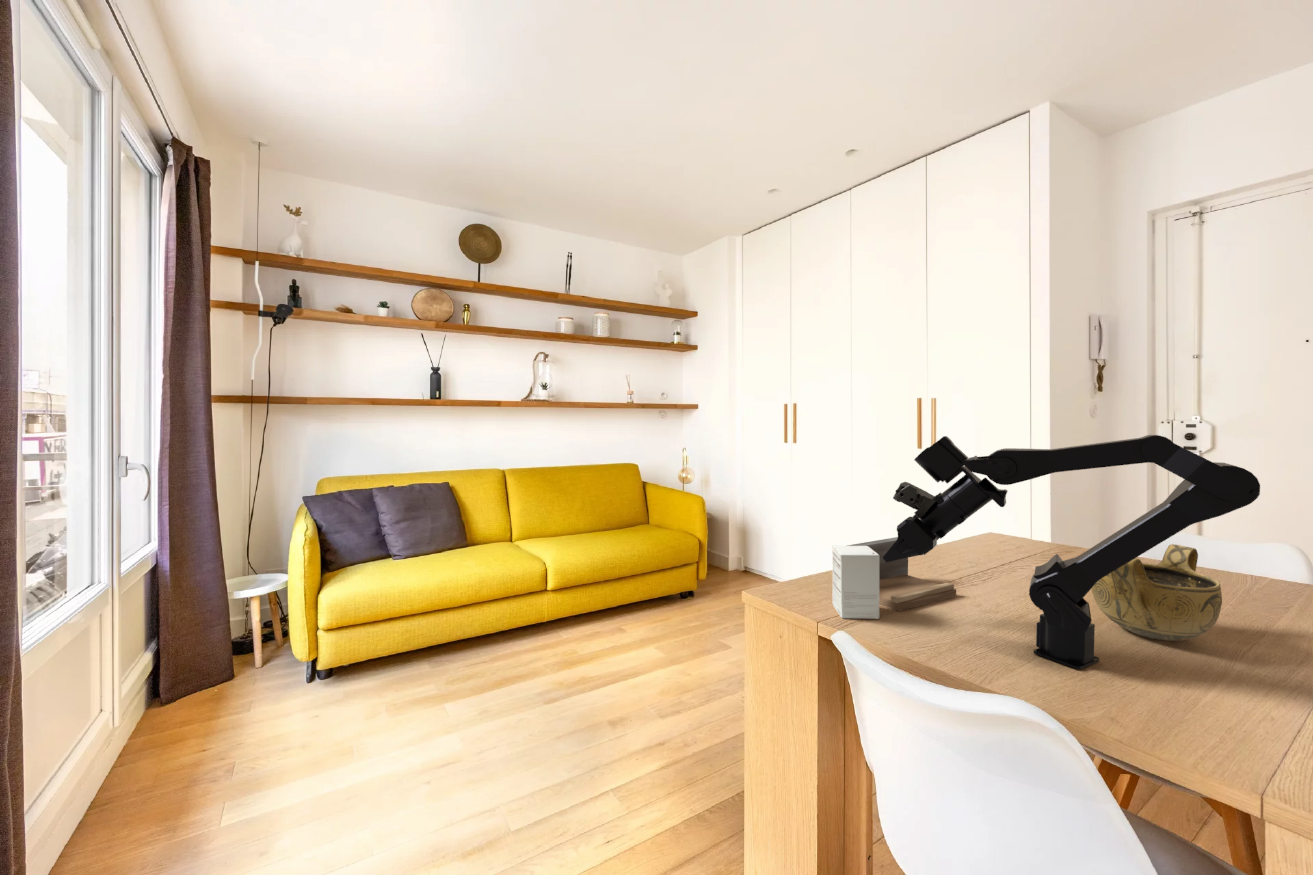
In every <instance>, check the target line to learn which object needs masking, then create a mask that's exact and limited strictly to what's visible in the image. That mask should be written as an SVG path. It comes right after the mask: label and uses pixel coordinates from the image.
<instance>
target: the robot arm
mask: <svg viewBox="0 0 1313 875" xmlns="http://www.w3.org/2000/svg"><path fill="white" fill-rule="evenodd" d="M959 448H960V447H958V446H957V445H955V443H954V442H953V441H952V439H951V438H949V437H948V436H947V435H945V436H942V437H941V438H939V439H938V440H937V441H936V442H934V443H933V444H932V445H930V446H929V447H926V448H925V449H924V450H923V451H921V452H920V453H919V454H918V455H917V456H916V457H915V458H914V461H915V462H916V464H918V465H919V467H921V468H922V470H924V471H925V472H926V473H927V474H928V476H930V477H931V478H932V479H933V480H934V481H935V482H936V483H937V484H938V483H940V482H941V483H944V482H945V483H946V484H949V483H950V482H952V481H953V480H954V479H955V478H957V477H958V476H959V475H960V474H961V473H964V475H963V476H962V477H960V478H959V479H958V480H956V482H954V483H952V485H950V486H949V487H948V488H947V489H946V490H944V491H943V492H939V493H938V494H936V495H933V494H932V493H929V492H928V491H926V490H924V489H922V488H920V487H918V486H916V485H914V484H911V483H910V482H907V481H904V482H901V483H900V484H899V485H898V488H896V490H895V493H894V495H893V497H892V499H893V500H894V501H896V502H898V503H902V504H904V505H906V506H908V507H910V508H911V509H914V510H916V511H914V514H913V516H908V517H907V518H905V519H904V520H903V521H901V522H900V523H899V524H898V525H897V526H896V532H897V537H898V538H897V540H896V541H895V542H894V544H893V545H892V546H891V547H890V549H889V550H888V551H887V552H886V554H885V555H884V556H883V559H884V560H885V561H886V562H891V561H895V560H899V559H904V558H908V559H909V558H913V557H918V556H925V555H927V554H928V553H929V552H931V551H932V550H933V549H934V548H936V546H937V545H938V540H939V539H943V538H945V536H946V535H947V534H948V533H950V532H951V531H952V530H954V529H955V528H956V527H958V526H960V525H961V524H963V523H964V522H966V520H967V519H968V518H969V517H971V516H972V515H973V514H975V513H977V512H978V511H979V510H981V509H982V508H983V507H984V506H985V505H987V504H988V503H990V502H991V501H994V502H995V504H996V505H997V506H999V507H1000V508H1004V507H1005V506H1006V504H1007V498H1006V497H1007V494H1008V489H1005V488H1004V489H1001V488H1000V489H999V488H998V487H997V486H996V485H1001V486H1002V485H1003V486H1009V485H1014V484H1018V483H1022V482H1025V481H1029V480H1033V479H1037V478H1040V477H1045V476H1047V475H1050V474H1054V473H1064V472H1072V471H1080V470H1081V471H1082V470H1089V469H1099V468H1108V467H1111V468H1112V467H1119V466H1128V465H1137V464H1146V463H1151V464H1155V465H1157V466H1159V467H1161V468H1163V469H1165V470H1166V471H1169V472H1170V473H1172V474H1173V475H1176V476H1178V477H1180V478H1182V479H1183V480H1182V481H1181V482H1180V483H1179V484H1178V485H1177V486H1176V487H1175V488H1174V490H1173V491H1172V492H1171V493H1170V494H1169V496H1167V498H1166V499H1164V500H1163V502H1162V503H1160V504H1158V505H1157V506H1155V507H1153V508H1152V509H1150V510H1149V511H1147V512H1145V513H1144V514H1142V515H1140V516H1139V517H1138V518H1136V519H1134V520H1133V521H1131V522H1130V523H1128V524H1127V525H1125V526H1123V527H1122V528H1120V529H1119V530H1116V532H1114V533H1113V534H1111V535H1109V536H1108V537H1106V538H1104V539H1103V540H1102V541H1100V542H1098V543H1097V544H1095V545H1094V546H1092V547H1090V548H1088V549H1087V550H1086V551H1084V552H1083V553H1081V554H1080V555H1078V556H1076V557H1072V558H1068V559H1066V560H1065V559H1064V560H1063V559H1062V558H1061V557H1060V555H1059V554H1057V553H1056V554H1055V555H1053V556H1052V557H1051V558H1050V559H1049V560H1048V561H1046V563H1043V564H1041V565H1037V566H1035V568H1034V573H1033V574H1032V576H1031V579H1030V584H1029V589H1028V592H1029V593H1028V595H1029V598H1030V601H1031V602H1032V604H1033V605H1034V606H1035V607H1037V608H1038V609H1039V610H1041V611H1042V612H1043V613H1042V614H1039V621H1038V622H1036V626H1035V627H1036V628H1035V629H1036V633H1035V639H1036V641H1035V646H1036V647H1037V648H1035V649H1033V654H1034V655H1037V656H1039V657H1041V658H1042V657H1043V658H1045V659H1048V660H1051V661H1053V662H1056V663H1058V664H1062V665H1065V666H1067V667H1070V668H1073V669H1075V670H1082V669H1084V668H1087V667H1089V666H1092V665H1093V664H1096V663H1098V662H1100V657H1099V656H1095V631H1096V630H1095V623H1092V614H1091V613H1092V612H1091V607H1090V603H1089V602H1088V601H1087V600H1086V599H1085V598H1084V597H1086V595H1087V594H1088V593H1089V592H1090V590H1091V588H1092V587H1093V586H1094V585H1095V584H1096V583H1097V582H1098V581H1099V580H1100V579H1101V578H1103V577H1105V576H1106V575H1108V574H1110V573H1111V572H1113V571H1115V570H1116V569H1118V568H1120V567H1121V566H1123V565H1125V564H1126V563H1128V562H1130V561H1131V560H1133V559H1135V558H1138V557H1139V556H1141V555H1143V554H1145V553H1147V552H1148V551H1150V550H1151V549H1153V548H1154V547H1156V546H1158V545H1159V544H1162V543H1163V542H1165V541H1166V540H1168V539H1170V538H1172V537H1173V536H1175V535H1176V534H1178V533H1180V532H1181V531H1183V530H1185V529H1186V528H1188V527H1189V526H1191V525H1192V526H1193V525H1195V524H1197V523H1200V522H1204V521H1207V520H1208V521H1209V520H1211V519H1214V518H1219V517H1221V516H1224V515H1226V514H1229V513H1232V512H1234V511H1236V510H1239V509H1241V508H1245V507H1246V506H1249V505H1250V504H1252V503H1254V502H1255V501H1256V500H1257V499H1259V496H1260V494H1261V484H1260V481H1259V479H1258V477H1257V476H1255V475H1254V473H1253V472H1252V471H1250V470H1247V469H1245V468H1244V467H1240V466H1236V465H1233V464H1230V463H1225V462H1217V461H1216V462H1213V461H1211V460H1209V459H1207V458H1205V457H1203V456H1201V455H1199V454H1196V453H1194V452H1193V451H1190V450H1189V449H1186V448H1185V447H1183V446H1180V445H1179V444H1176V443H1174V442H1173V441H1172V440H1171V439H1170V438H1168V437H1166V436H1162V435H1160V434H1159V435H1158V434H1148V435H1144V436H1141V437H1137V438H1136V437H1135V438H1129V439H1121V440H1111V441H1106V442H1097V443H1090V444H1089V443H1088V444H1081V445H1073V446H1067V447H1059V448H1049V449H1048V448H1047V449H1046V448H1044V449H1043V448H1015V447H1014V448H1010V447H1009V448H1001V449H998V450H995V451H994V452H992V453H991V454H989V455H985V456H977V455H974V456H972V457H968V455H966V454H965V453H964V452H963V451H962V450H961V449H959ZM976 474H978V475H979V474H980V475H984V476H986V477H984V478H982V479H981V478H980V477H978V476H977V475H976ZM994 483H995V484H996V485H995V484H994Z"/></svg>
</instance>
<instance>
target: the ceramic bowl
mask: <svg viewBox="0 0 1313 875" xmlns="http://www.w3.org/2000/svg"><path fill="white" fill-rule="evenodd" d="M1198 560H1199V553H1198V551H1197V549H1196V548H1195V547H1190V546H1185V545H1181V544H1173V543H1172V544H1169V545H1168V546H1167V548H1166V550H1165V552H1164V554H1163V557H1162V560H1161V561H1160V562H1159V563H1157V564H1155V563H1149V562H1147V563H1146V562H1142V560H1141V559H1139V558H1138V557H1136V558H1135V559H1133V560H1131V561H1130V562H1128V563H1126V564H1125V565H1123V566H1121V567H1120V568H1118V569H1116V570H1115V571H1113V572H1111V573H1110V574H1108V575H1106V576H1105V577H1103V578H1101V579H1100V580H1099V581H1098V582H1097V583H1096V584H1095V585H1094V586H1093V587H1092V588H1091V589H1090V590H1091V594H1092V598H1093V601H1094V602H1095V604H1096V606H1097V607H1098V609H1099V610H1100V611H1101V612H1102V613H1103V614H1104V615H1105V616H1106V617H1107V618H1108V619H1109V620H1110V621H1112V622H1113V623H1115V624H1117V625H1118V626H1120V627H1122V628H1124V629H1125V630H1127V631H1129V632H1132V633H1133V634H1134V635H1135V634H1136V635H1139V636H1141V637H1145V638H1149V639H1152V640H1157V641H1164V642H1165V641H1166V642H1168V641H1169V642H1178V641H1187V640H1190V639H1194V638H1197V637H1200V636H1202V635H1204V634H1205V633H1207V632H1209V630H1211V629H1212V628H1213V627H1214V625H1215V624H1216V623H1217V621H1218V619H1219V617H1220V614H1221V610H1222V605H1223V596H1222V588H1221V587H1222V586H1221V583H1220V582H1219V581H1218V579H1216V578H1213V577H1211V576H1209V575H1206V574H1202V573H1198V572H1196V570H1197V566H1198Z"/></svg>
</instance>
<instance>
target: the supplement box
mask: <svg viewBox="0 0 1313 875" xmlns="http://www.w3.org/2000/svg"><path fill="white" fill-rule="evenodd" d="M831 556H832V560H831V561H832V562H831V563H832V606H833V608H834V609H835V611H836V612H837V613H838V615H839V616H840V618H841V619H869V620H870V619H871V620H872V619H874V620H879V619H880V604H879V561H880V556H879V555H878V554H877V553H876V552H875V551H873V550H872V549H871V548H870V547H868V546H847V545H832V555H831Z"/></svg>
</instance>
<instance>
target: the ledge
mask: <svg viewBox="0 0 1313 875" xmlns="http://www.w3.org/2000/svg"><path fill="white" fill-rule="evenodd" d="M897 538H898V536H896V537H890V538H889V537H888V538H883V539H878V540H873V541H865V542H860V543H859V542H858V543H853V544H847V545H846V546H868V547H870V548H871V549H872V550H873V551H875V552H876V553H877V554H878V555H879V556H880V561H879V605H880V606H884V607H886V606H887V607H886V608H889V609H892V610H895V611H897V610H898V611H897V612H902V611H901V610H903V611H907V610H910V609H909V608H911V609H914V608H913V607H915V608H917V607H916V606H918V607H922V606H926V605H929V604H933V603H936V602H941V601H944V600H948V598H949V599H952V598H955V596H956V597H957V589H956V588H955V584H954V583H951V582H948V581H947V582H944V583H936V582H931V581H928V580H925V579H921V578H918V577H915V576H911V575H909V557H908V558H904V559H899V560H895V561H891V562H886V561H885V560H884V559H883V556H884V555H885V554H886V552H887V551H888V550H889V549H890V547H891V546H892V545H893V544H894V542H895V541H896V540H897ZM925 604H926V605H925ZM921 605H922V606H921ZM906 609H907V610H906Z"/></svg>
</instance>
